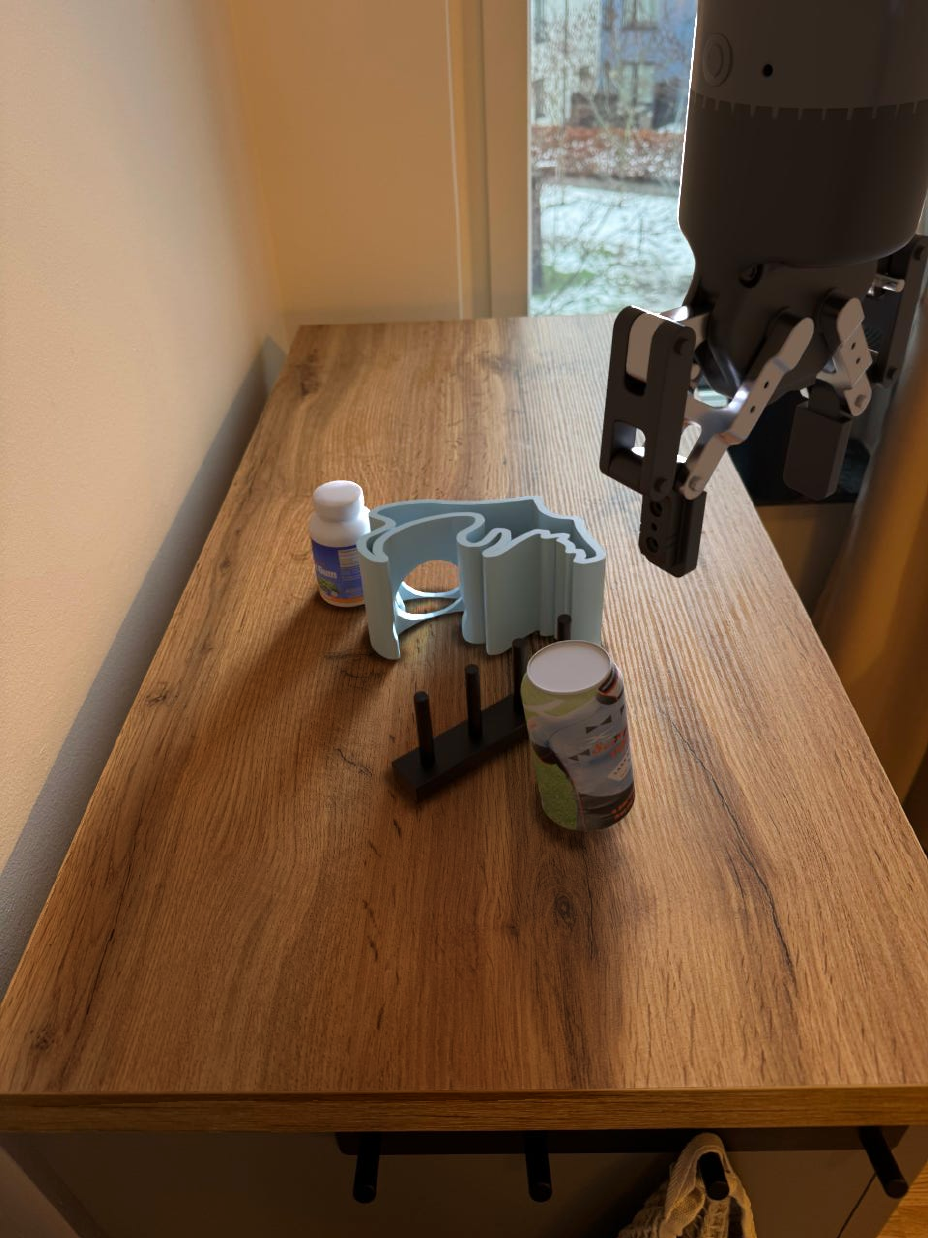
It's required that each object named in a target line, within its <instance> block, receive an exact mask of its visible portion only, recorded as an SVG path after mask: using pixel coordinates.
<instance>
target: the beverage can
mask: <svg viewBox="0 0 928 1238" xmlns="http://www.w3.org/2000/svg"><path fill="white" fill-rule="evenodd" d="M521 697H522V702H523V707H524V712H525V718H526V723H527V728H528V733H529V736H528V738H529V745H530V749H531V754H532V759H533V764H534V768H535V775H536V780H537V786H538V791H539V796H540V801H541V807H542V809H543V812H544V813H545V814H546V816H547V817H548V818H549V820H551V821H552V822H553V823H555V824H557V825H559V826H560V827H563V828H565V829H567V830H572V831H575V832H595V831H601V830H604V829H608V828H609V827H612V826H614V825H616V824H618V823H619V822H621V821H622V820H623V819H624V818H625V817H626V816H627V815H628V814H629V813H630V811H631V810H632V809H633V807H634V803H635V801H636V786H635V785H636V784H635V776H634V775H635V774H634V767H633V757H632V748H631V738H630V729H629V721H628V711H627V702H626V691H625V683H624V677H623V674H622V671H621V670H620V668H619V666H618V665H617V664H616V663H615V662H614V661H613V660H612V658H611V656H610V654H609V652H608V651H607V650H606V649H604V648H603V647H602V646H601V647H600V646H599V645H596V644H594V643H591V642H587V641H581V640H569V641H562V642H557V641H556V642H554V643H550V644H548V645H546V646H544V647H542V648H541V649H539V650H538V651H537V652H535V653H534V654H533V655H532V656H531V658H530V660H529V661H528V662H527V672H526V673H525V675H524V677H523V680H522V683H521Z"/></svg>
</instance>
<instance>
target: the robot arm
mask: <svg viewBox="0 0 928 1238" xmlns="http://www.w3.org/2000/svg"><path fill="white" fill-rule="evenodd" d="M695 16H696V17H695V27H694V36H693V37H694V38H693V47H692V57H691V69H690V79H689V90H688V91H689V92H688V100H687V102H688V103H687V110H686V119H685V121H686V122H685V133H684V142H683V151H682V161H681V163H682V164H681V173H680V185H679V194H678V195H679V196H678V204H677V205H678V206H677V216H676V217H677V225H678V228H679V230H680V232H681V234H682V236H683V237H684V238H685V240H686V241H687V244H688V245H689V248H690V250H691V252H692V255H693V258H694V269H693V270H694V271H693V274H692V277H691V280H690V284H689V287H688V289H687V292H686V294H685V297H684V299H683V301H682V304H681V306H679V307H676V308H672V309H669V310H666V311H661V312H658V313H653V312H651V311H648V310H645V309H643V308H640V307H638V306H635V305H627V306H625V307H624V308H622V309H621V310H620V311H619V312H618V314H617V315H616V317H615V319H614V321H613V325H612V331H611V332H612V334H611V343H610V352H609V363H608V372H607V373H608V374H607V382H606V391H605V392H606V393H605V394H606V395H605V401H604V403H605V404H604V411H603V412H604V413H603V424H602V430H601V431H602V432H601V440H600V450H599V451H600V452H599V463H598V467H599V471H600V472H601V474H603V475H605V476H607V477H609V478H610V479H612V480H614V481H616V482H617V483H619V484H621V485H623V486H625V487H626V488H627V489H630V490H632V491H634V492H636V493H638V494H639V495H641V505H640V507H641V508H640V517H639V518H640V519H639V522H640V523H639V528H638V529H639V530H638V531H639V532H638V539H637V541H638V542H637V546H638V549H639V552H640V554H641V555H642V556H644V557H645V559H646V560H647V561H648V562H650V563H651V564H652V565H654V566H656V567H658V568H659V569H661V570H662V571H664V572H665V573H667V574H668V575H670V576H672V577H674V578H675V579H676V578H677V579H680V578H683V577H684V576H686V575H688V574H689V573H692V572H694V571H695V570H696V569H697V566H698V562H699V561H698V560H699V554H700V547H701V538H702V533H703V524H704V518H705V510H706V502H707V495H708V491H706V490H705V488H706V487H707V484H708V483H709V481H710V479H711V477H712V476H713V474H714V472H715V470H716V469H717V467H718V465H719V464H720V462H721V460H722V459H723V456H724V455H725V453H726V451H727V450H728V449H729V448H730V447H731V446H734V445H739V444H742V443H744V442H745V441H746V440H747V439H748V437H749V436H750V434H751V432H752V431H753V430H754V427H755V426H756V423H757V422H758V420H759V418H760V417H761V415H762V413H763V411H764V410H765V408H766V407H767V406H770V405H773V404H774V403H775V402H777V401H778V400H779V399H781V398H782V397H783V396H784V395H786V393H788V392H790V391H800V394H801V395H802V397H805V398H807V399H808V400H805V401H803V402H801V403H799V404H796V406H795V411H794V412H795V413H794V417H793V421H792V426H791V431H790V437H789V442H788V447H787V453H786V456H785V462H784V466H783V467H784V468H783V473H782V479H783V482H784V484H785V486H787V487H788V489H791V490H793V491H794V492H796V493H800V494H802V495H804V496H806V497H808V498H809V499H812V500H814V501H822V500H824V499H826V498H828V497H830V496H831V495H833V494H834V493H836V490H837V488H838V483H839V481H840V474H841V472H842V466H843V463H844V458H845V454H846V450H847V446H848V443H849V438H850V434H851V429H852V426H853V422H854V417H859V416H861V414H863V413H864V411H865V410H867V407H868V405H869V404H870V401H871V399H872V393H873V392H872V391H873V390H874V388H876V387H877V386H878V387H880V388H883V389H890V388H891V387H893V386H894V385H895V383H896V382H897V380H898V379H899V377H900V375H901V373H902V371H903V366H904V361H905V358H906V353H907V348H908V344H909V339H910V335H911V331H912V327H913V324H914V319H915V315H916V309H917V305H918V301H919V296H920V293H921V289H922V284H923V280H924V275H925V271H926V268H927V263H928V235H926V234H921V233H917V231H918V229H919V225H920V221H921V218H922V215H923V210H924V207H925V204H926V203H925V202H926V199H927V194H928V0H697V5H696V15H695ZM866 326H869V327H872V328H876V329H878V330H879V332H880V334H881V339H880V343H879V347H878V351H875V350H873V349H870V347H869V345H868V342H867V338H866V335H865V328H866ZM703 377H704V379H705V381H706V384H707V385H708V386H709V388H710V389H711V390H712V391H714V392H715V393H717V394H718V395H721V396H724V397H725V398H728V399H730V400H731V401H730V402H729V403H728V404H726V405H725V406H723V407H714V406H712V405H710V404H707V403H705V402H703V401H700V400H699V399H697V398H695V392H696V389H697V387H698V385H699V383H700V381H701V380H702V379H703ZM689 426H696V427H698V428H700V435H699V437H698V439H697V440H696V442H695V443H694V446H693V447H692V449H691V451H690V452H689V455H688V456H687V458H686V457H683V456H681V455H679V452H680V446H681V439H682V435H683V434H684V433H685V430H686V429H687V428H688V427H689ZM637 430H639V431H641V432H642V434H643V436H644V442H643V444H642V445H641V447H635V445H636V437H637V432H638V431H637Z"/></svg>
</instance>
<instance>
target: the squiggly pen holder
mask: <svg viewBox="0 0 928 1238" xmlns="http://www.w3.org/2000/svg"><path fill="white" fill-rule="evenodd" d="M369 510H370V511H369V512H368V517H369V525H370V532H369V533H367V534H365V535H363V536H361V537H360V538H359V539H358V541H357V543H356V546H357V553H358V560H359V567H360V574H361V580H362V587H363V594H364V601H365V604H364V607H365V613H366V620H367V627H368V633H369V640H370V645H371V648H373V650H374V651H375V652H376V653H377V654H378V655H380V656H381V657H383V658H386V659H387V660H399V659H400V658H401V652H400V643H399V642H400V641H399V635H401V634H402V633H403V632H404V631H406V630H407V629H410V628H411V627H412V626H415V625H416V624H419V623H421V622H423V621H425V620H429V619H432V618H435V617H438V616H443V615H449V614H454V613H459V612H463V614H462V618H461V630H462V631H461V632H462V637H463V639H464V640H465V642H468V643H470V644H473V645H483V644H485V645H486V646H485V647H486V654H487V655H489V656H495V655H496V656H497V655H500V654H502V653H505V652H506V651H508V650H509V649H510V648H512V642H513V640H514V639H517V638H522V639H524V638H526V637H527V636H529V635H530V634H533V633H534V632H537V631H538V632H539V635H540V636H542V637H550V636H553V638H554V639H555V640H557V618H558V616H560V615H562V614H567V615H570V616H571V618H572V634H571V640H581V641H587V642H591V643H594V644H596V645H599V646H600V647H602V632H603V613H604V597H605V596H604V595H605V583H606V567H607V565H606V564H607V553H606V549H604V547H603V546H601V544H600V543H599V542H598V541H597V540H596V539H595V538H594V537H593V536H592V535H591V533H590V532H589V530H588V528H587V527H586V525H585V522H584V519H583V518H582V517H581V516H579V515H565V514H560V513H556V512H554V511H552V510H551V509H549V508H548V507H547V505H546V503H545V502H544V499H543V498H542V496H540V495H525V496H516V497H507V498H497V499H485V500H450V499H448V500H447V499H434V498H433V499H432V498H428V499H427V498H426V499H425V498H424V499H412V500H411V499H410V500H403V501H402V500H401V501H395V502H389V503H385V504H382V505H378V506H376V507H373V508H372V509H369ZM432 561H442V562H443V561H444V562H447V563H451V564H453V565H455V566H456V567H457V569H458V583H459V584H458V586H456V587H455V588H454V589H452V590H451V589H450V590H447V591H443V592H423V591H420V590H417V589H414V588H412V587H411V586H409V585H407V584H406V582H405V579H406V578H407V577H408V575H410V573H412V571H414V570H415V569H416V568H417V567H418V566H421V565H423V564H426V563H427V562H432ZM424 598H425V599H426V598H445V599H446V598H447V599H456V600H455V601H454V602H453V603H452V604H450V605H448V606H446V607H445V608H442V609H439V610H437V611H434V612H429V613H424V614H423V613H421V614H419V613H409V612H406V605H405V603H404V601H408V600H415V599H424Z"/></svg>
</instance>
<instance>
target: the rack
mask: <svg viewBox="0 0 928 1238" xmlns="http://www.w3.org/2000/svg"><path fill="white" fill-rule="evenodd" d="M571 634H572V618H571V616H570V615H567V614H562V615H560V616H558V618H557V639H556V643H557V642H562V641H569V640H571ZM511 658H512V659H511V660H512V662H511V664H512V666H511V667H512V693H510V694H508V695H506V696H505V697H503V698H501V699H499V700H498V701H496V702H495V703H492V704H491V705H489V706H487V707H485V708H484V709H482V691H481V674H480V673H481V672H480V671H481V670H480V666H479V665H478V664H476V663H468V664H466V665H465V666H464V667H463V673H464V675H463V676H464V677H463V678H464V689H465V690H464V691H465V706H466V719H464V720H462V721H461V722H459V723H457V724H455V725H453V726H451V727H450V728H448V729H447V730H445V731H443V732H441V733H440V734H438V735H436V736H434V733H433V724H432V723H433V722H432V713H431V704H430V694H429V693H428V692H427V691H425V690H418V691H416V692H414V693H413V696H412V701H413V707H414V708H413V710H414V717H415V718H414V719H415V726H416V727H415V728H416V735H417V745H418V746H417V747H415V748H413V749H411V750H410V751H408V752H406V753H404V754H403V755H401V756H399V757H397V758H395V759H393V760H392V761H390V764H391V765H390V766H391V770H392V777H393V779H395V780H396V781H397V783H398V784H399V785H400V786H401V787H402V788H403V789H404V790H405V791H406V792H407V793H408V795H410V796H411V798H412V799H413V800H415V802H416V803H417V804H420V802H422V801H424V800H425V799H427V798H429V797H431V796H433V795H434V794H435V793H437V792H439V791H441V790H442V789H444V788H445V787H447V786H449V785H451V784H452V783H454V782H456V781H457V780H459V779H461V778H462V777H464V776H465V775H467V774H468V773H470V772H472V771H473V770H475V769H477V768H479V767H481V766H482V765H483V764H485V763H486V762H489V761H490V760H492V759H493V758H495V757H497V756H498V755H500V754H502V753H504V752H505V751H507V750H509V749H511V748H512V747H514V746H515V745H517V744H518V743H520V742H522V741H523V740H525V739H527V738H529V733H528V728H527V723H526V718H525V712H524V707H523V702H522V697H521V683H522V680H523V677H524V675H525V673H526V672H527V666H528V641H527V640H526V639H524V638H517V639H514V640H513V642H512V647H511Z"/></svg>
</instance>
